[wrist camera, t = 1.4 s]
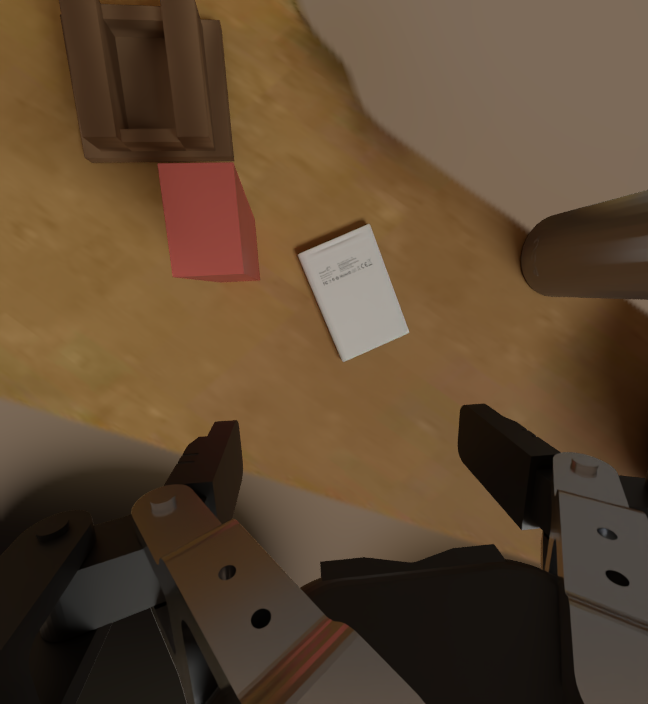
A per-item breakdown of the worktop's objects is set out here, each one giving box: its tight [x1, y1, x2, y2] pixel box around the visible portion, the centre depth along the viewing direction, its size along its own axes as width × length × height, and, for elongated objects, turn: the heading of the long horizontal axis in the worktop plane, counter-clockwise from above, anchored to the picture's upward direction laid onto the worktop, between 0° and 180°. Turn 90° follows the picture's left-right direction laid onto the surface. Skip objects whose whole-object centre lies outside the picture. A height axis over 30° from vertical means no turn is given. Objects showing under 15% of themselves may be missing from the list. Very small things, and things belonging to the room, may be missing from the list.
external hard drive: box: [298, 224, 409, 362], centre depth 37 cm, size 2×8×12 cm
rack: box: [59, 0, 234, 163], centre depth 29 cm, size 13×11×4 cm
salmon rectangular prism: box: [158, 163, 260, 282], centre depth 27 cm, size 4×6×16 cm, turn 3°
